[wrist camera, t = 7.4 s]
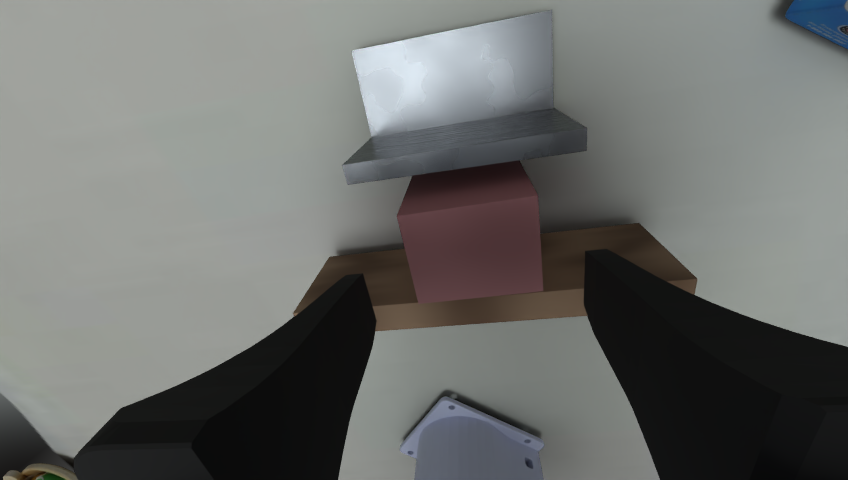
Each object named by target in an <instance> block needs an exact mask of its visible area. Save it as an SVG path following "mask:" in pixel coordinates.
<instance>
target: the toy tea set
mask: <svg viewBox="0 0 848 480" xmlns="http://www.w3.org/2000/svg"><path fill="white" fill-rule="evenodd" d="M3 480H78V479H77V477H76V474H75V473H73V472H72V471H70V470H67V469H66V468H63V467H60V466H56V465H52V464H43V463H38V464H32V465H29V466H28V467H26V468H25V469H24V471H23V472H22V473H20V472H18V471H13V470H11V471H8V472H7V474H6V475H5V476H4V477H3Z"/></svg>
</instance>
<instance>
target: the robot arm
mask: <svg viewBox="0 0 848 480" xmlns="http://www.w3.org/2000/svg"><path fill="white" fill-rule="evenodd" d="M584 307H585V310H586V313H587V316H588V319H589V322H590V324H591V327H592V330H593V332H594V334H595V336H596V338H597V340H598V342H599V344H600V346H601V348H602V350H603V352H604V354H605V356H606V358H607V359H608V361H609V363H610V365H611V367H612V369H613V371H614V373H615V375H616V377H617V378H618V380H619V382H620V384H621V386H622V388H623V390H624V392H625V394H626V396H627V398H628V400H629V402H630V404H631V406H632V408H633V411H634V413H635V416H636V418H637V421H638V423H639V426H640V428H641V431H642V433H643V436H644V438H645V441H646V443H647V446H648V449H649V451H650V454H651V456H652V459H653V462H654V464H655V467H656V470H657V472H658V475H659V478H660V480H848V347H846V346H842V345H838V344H835V343H831V342H827V341H823V340H819V339H816V338H813V337H809V336H806V335H802V334H799V333H795V332H792V331H789V330H786V329H783V328H780V327H777V326H774V325H771V324H768V323H764V322H761V321H758V320H756V319H753V318H750V317H747V316H744V315H742V314H739V313H736V312H734V311H731V310H729V309H726V308H724V307H721V306H719V305H716V304H714V303H711V302H709V301H707V300H704V299H702V298H700V297H698V296H695V295H693V294H691V293H689V292H687V291H685V290H683V289H681V288H679V287H677V286H675V285H673V284H671V283H669V282H667V281H665V280H663V279H661V278H659V277H657V276H655V275H653V274H652V273H650V272H648V271H646V270H644V269H642V268H641V267H639V266H637V265H635V264H634V263H632V262H630V261H628V260H626V259H625V258H623V257H621V256H619V255H618V254H616V253H614V252H612V251H610V250H608V249H599V250H589V251H585V273H584ZM376 322H377V320H376V316H375V313H374V309H373V306H372V303H371V299H370V296H369V292H368V289H367V285H366V282H365V279H364V275H363V273H361V274H351V275H345V276H344V277H342V278H341V279H340V280H338V281H337V282H336V283H335V284H334V285H332V286H331V287H330V288H329V289H328V290H326V291H325V292H324V293H323V294H322V295H320V296H319V297H318V298H317V299H316V300H314V301H313V302H312V303H311V304H310V305H308V306H307V307H306V308H305V309H304V310H302V311H301V312H300V313H298V314H297V315H296V316H294V317H293V318H292V319H291V320H289V321H288V322H287V323H285V324H284V325H283V326H282V327H280V328H279V329H277V330H276V331H274V332H273V333H272V334H270V335H269V336H267V337H266V338H264V339H263V340H261V341H259V342H258V343H256V344H255V345H253V346H252V347H250V348H248V349H247V350H245V351H243V352H241V353H240V354H238V355H236V356H234V357H233V358H231V359H229V360H227V361H225V362H224V363H222V364H220V365H218V366H216V367H214V368H213V369H211V370H209V371H207V372H205V373H203V374H200V375H198V376H196V377H194V378H192V379H190V380H188V381H186V382H184V383H181V384H179V385H177V386H175V387H172V388H170V389H168V390H165V391H163V392H160V393H158V394H155V395H153V396H151V397H148V398H146V399H143V400H141V401H138V402H136V403H133V404H131V405H128V406H125V407H123V408H121V409H120V410H119V411H117V413H116V414H115V415H114V416H113V417H112V418H111V419H110V420H109V421H108V422H107V423H106V424H105V425H104V426H103V427H102V428H101V429H100V430H99V431H98V432H97V433H96V434H95V435H94V437H93V438H92V439H91V440H90V441H89V442H88V443H87V444H86V445H85V446H84V447H83V448H82V449H81V450H80V451H79V452H78V454H77V455H76V456H75V458H74V472H75V474H76V477H77V479H78V480H338V476H339V471H340V465H341V460H342V455H343V449H344V445H345V440H346V435H347V430H348V426H349V421H350V417H351V413H352V410H353V406H354V403H355V400H356V397H357V394H358V390H359V387H360V384H361V381H362V378H363V375H364V372H365V369H366V366H367V363H368V359H369V356H370V353H371V350H372V346H373V341H374V335H375V329H376ZM543 447H544V442H543V440H542V439H541V438H538V437H536V436H534V435H532V434H529V433H527V432H525V431H523V430H521V429H518V428H516V427H514V426H512V425H509V424H507V423H505V422H503V421H501V420H498V419H496V418H494V417H492V416H489V415H487V414H485V413H483V412H481V411H478V410H476V409H474V408H472V407H469V406H467V405H465V404H463V403H461V402H458V401H456V400H454V399H452V398H449V397H442V398H441V399H440V400H439V401H438V402H437V403H436V405H435V406H434V407H433V408H432V409H431V410H430V411H429V413H428V414H427V415H426V416H425V417H424V418H423V420H422V421H421V422H420V423H419V424H418V425H417V426H416V428H415V429H414V430H413V431H412V432H411V433H410V435H409V436H408V437H407V438H406V439H405V440H404V441H403V443H402V444H401V445H400V451H401V452H402V453H404V454H406V455H409V456H411V457H413V458H416V468H415V477H414V480H544V479H543V473H542V468H541V463H540V458H539V453H538V451H540V450H541V449H542V448H543Z"/></svg>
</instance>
